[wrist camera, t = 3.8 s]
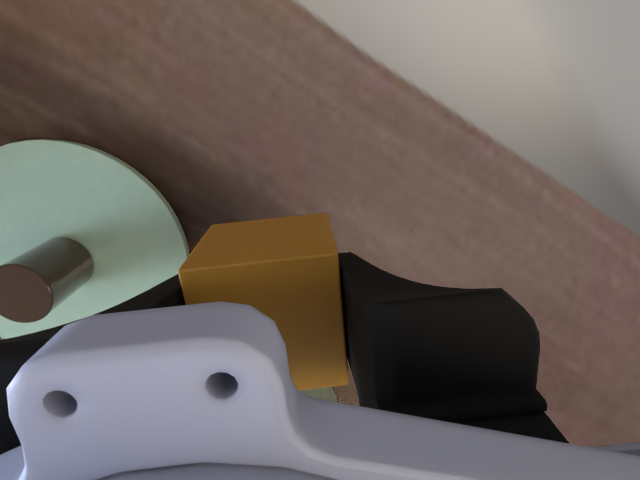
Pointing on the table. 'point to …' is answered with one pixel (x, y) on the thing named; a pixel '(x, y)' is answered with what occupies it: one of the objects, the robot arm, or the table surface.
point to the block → (279, 287)
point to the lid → (77, 234)
